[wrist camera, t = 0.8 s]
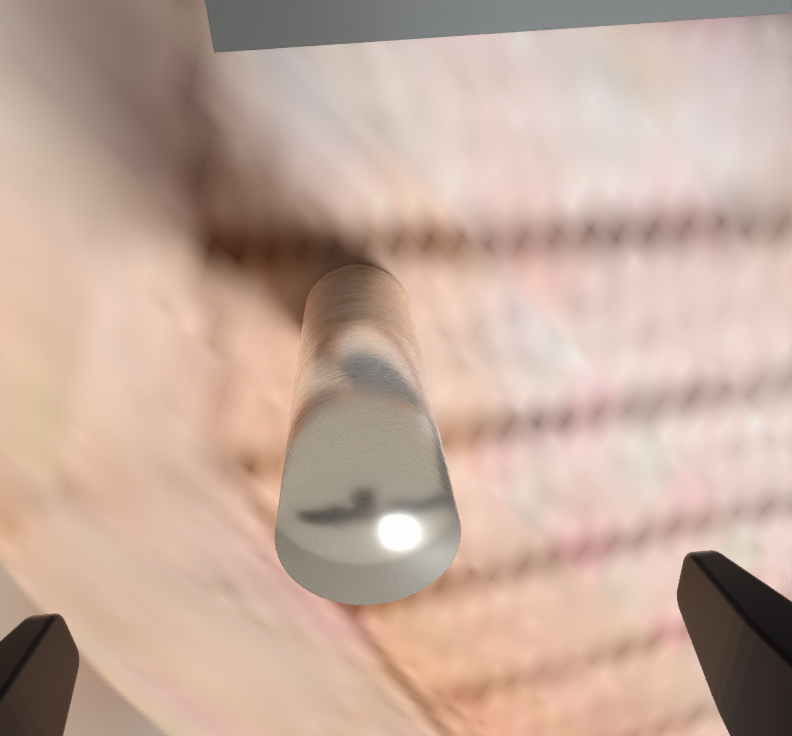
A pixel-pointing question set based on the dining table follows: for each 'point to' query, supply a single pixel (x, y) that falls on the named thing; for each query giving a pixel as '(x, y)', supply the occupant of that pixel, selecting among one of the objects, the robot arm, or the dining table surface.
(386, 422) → the steel peg
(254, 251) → the dining table surface
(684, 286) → the dining table surface
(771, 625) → the robot arm
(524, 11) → the hole block
